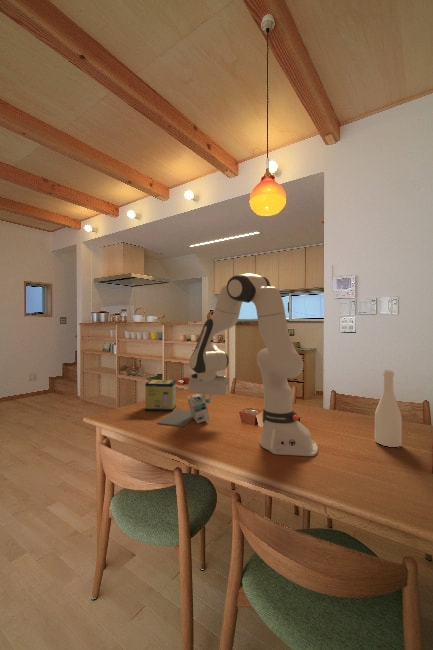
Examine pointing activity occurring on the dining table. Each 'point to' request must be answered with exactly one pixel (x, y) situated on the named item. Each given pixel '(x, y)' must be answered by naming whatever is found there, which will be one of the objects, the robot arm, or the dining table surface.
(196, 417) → the light bulb box
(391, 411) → the wine bottle
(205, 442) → the dining table surface
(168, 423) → the rubber mat
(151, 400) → the protein box
